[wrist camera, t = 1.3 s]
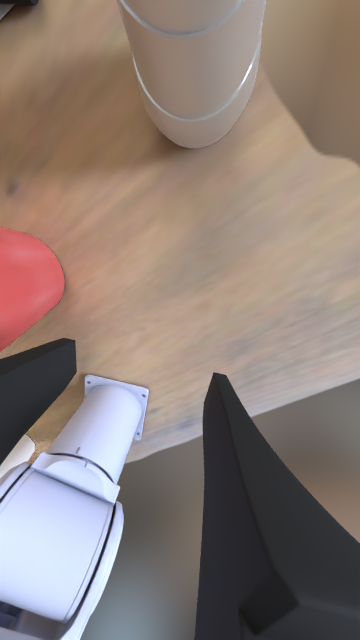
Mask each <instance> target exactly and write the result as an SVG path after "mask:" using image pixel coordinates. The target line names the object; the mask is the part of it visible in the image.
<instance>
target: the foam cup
mask: <svg viewBox="0 0 360 640" xmlns="http://www.w3.org/2000/svg"><path fill="white" fill-rule="evenodd" d="M34 450H35V444H34V442H33V441H32V440H31V438H30V437H28V436H27V435H26V434H24V436H23V437H22V438H21V439H20V441H19V442H18V443H17V445H16V446H15V447H14V448H13V450H12V451H11V452H10V454H9V455H8V456H7V458H6V459H5V460H4V462H3V463H2V464H1V466H0V478H1V477H2V476H3V475H4V474H5V473H6V472H7V471H9V470H10V469H11V468H13V467H15V466H17V465H20V464H21V463H23V462H25V461H26V462H28V460H29V458H30V457H31V455H32V454H33V452H34Z"/></svg>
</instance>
